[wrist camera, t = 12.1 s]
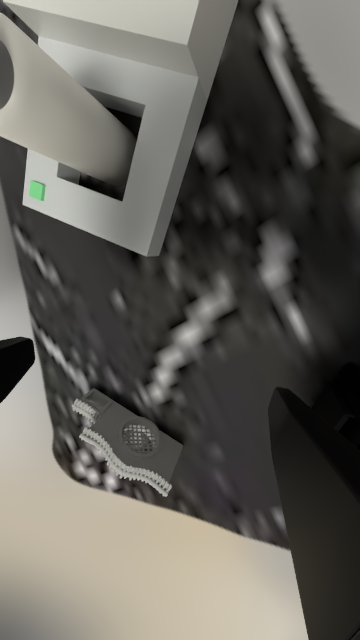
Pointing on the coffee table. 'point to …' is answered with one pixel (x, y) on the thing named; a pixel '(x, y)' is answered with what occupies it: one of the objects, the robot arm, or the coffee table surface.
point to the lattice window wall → (121, 458)
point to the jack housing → (129, 103)
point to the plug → (58, 112)
